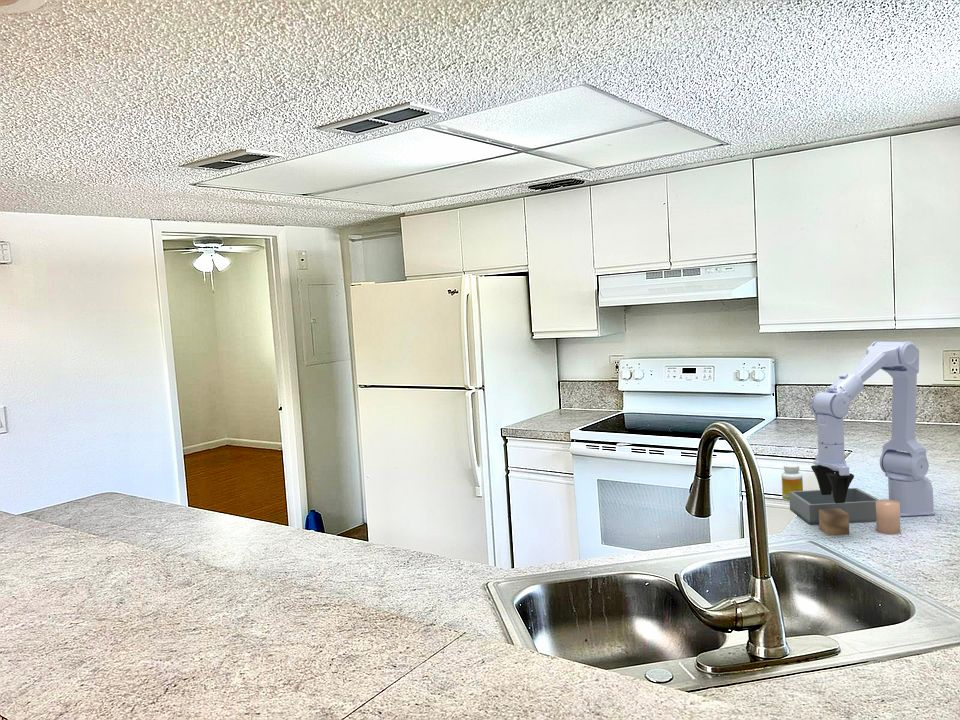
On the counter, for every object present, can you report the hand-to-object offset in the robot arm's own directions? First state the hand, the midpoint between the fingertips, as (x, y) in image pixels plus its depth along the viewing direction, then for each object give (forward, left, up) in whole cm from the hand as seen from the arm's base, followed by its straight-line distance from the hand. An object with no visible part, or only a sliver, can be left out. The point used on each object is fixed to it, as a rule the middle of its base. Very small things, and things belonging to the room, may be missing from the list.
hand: (832, 498), depth 180 cm
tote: (-6, -13, -8) cm, 16 cm away
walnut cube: (0, 0, -8) cm, 8 cm away
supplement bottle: (-1, -30, -8) cm, 31 cm away
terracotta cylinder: (-12, +1, -8) cm, 15 cm away
